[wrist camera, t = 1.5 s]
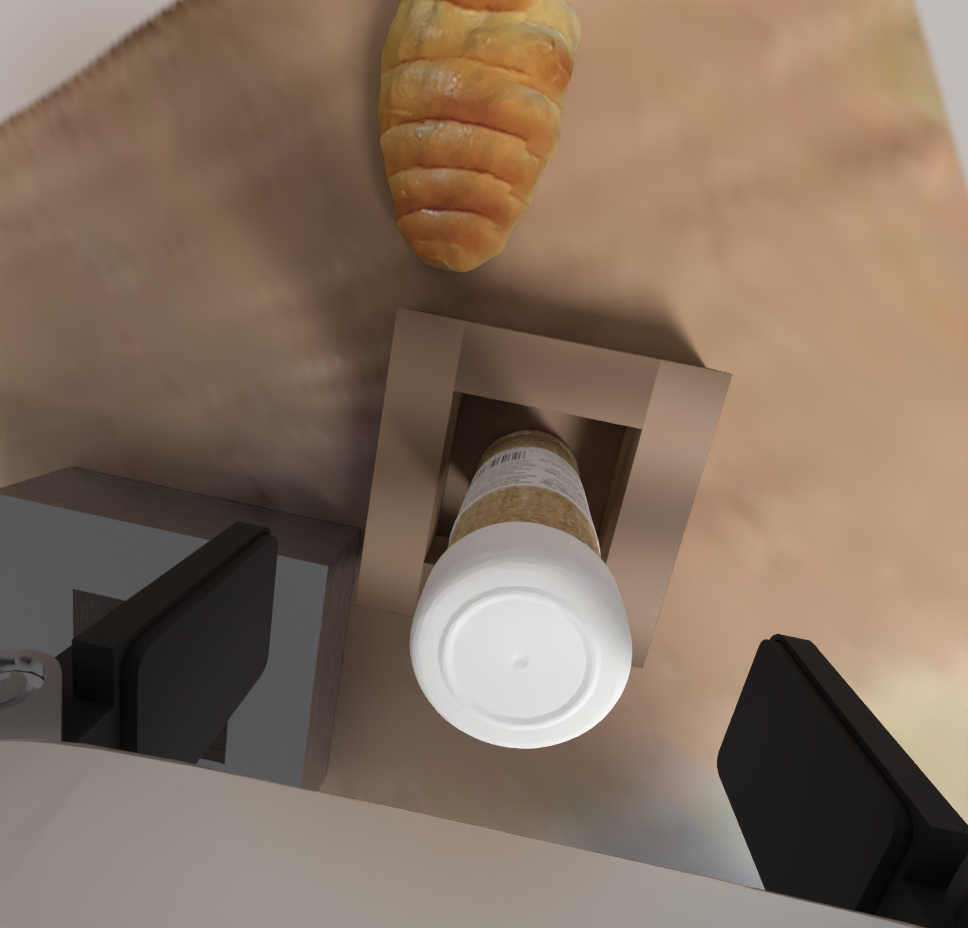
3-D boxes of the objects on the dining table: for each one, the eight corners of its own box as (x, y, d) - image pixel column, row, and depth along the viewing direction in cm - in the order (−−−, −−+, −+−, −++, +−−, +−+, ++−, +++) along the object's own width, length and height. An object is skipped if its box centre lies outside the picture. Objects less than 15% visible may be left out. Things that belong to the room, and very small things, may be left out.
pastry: (531, 288, 22) (529, 281, 18) (369, 257, 22) (335, 244, 19) (585, 17, 20) (595, -53, 16) (403, -13, 20) (371, -88, 16)
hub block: (326, 774, 29) (293, 843, 25) (73, 714, 29) (3, 773, 25) (360, 528, 25) (328, 566, 21) (71, 466, 26) (-12, 492, 22)
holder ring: (630, 628, 25) (642, 668, 22) (375, 572, 26) (354, 604, 23) (707, 367, 22) (732, 374, 19) (415, 310, 22) (396, 308, 20)
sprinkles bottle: (493, 537, 25) (443, 776, 12) (463, 442, 24) (372, 586, 11) (593, 512, 24) (660, 737, 11) (566, 413, 23) (604, 529, 10)
